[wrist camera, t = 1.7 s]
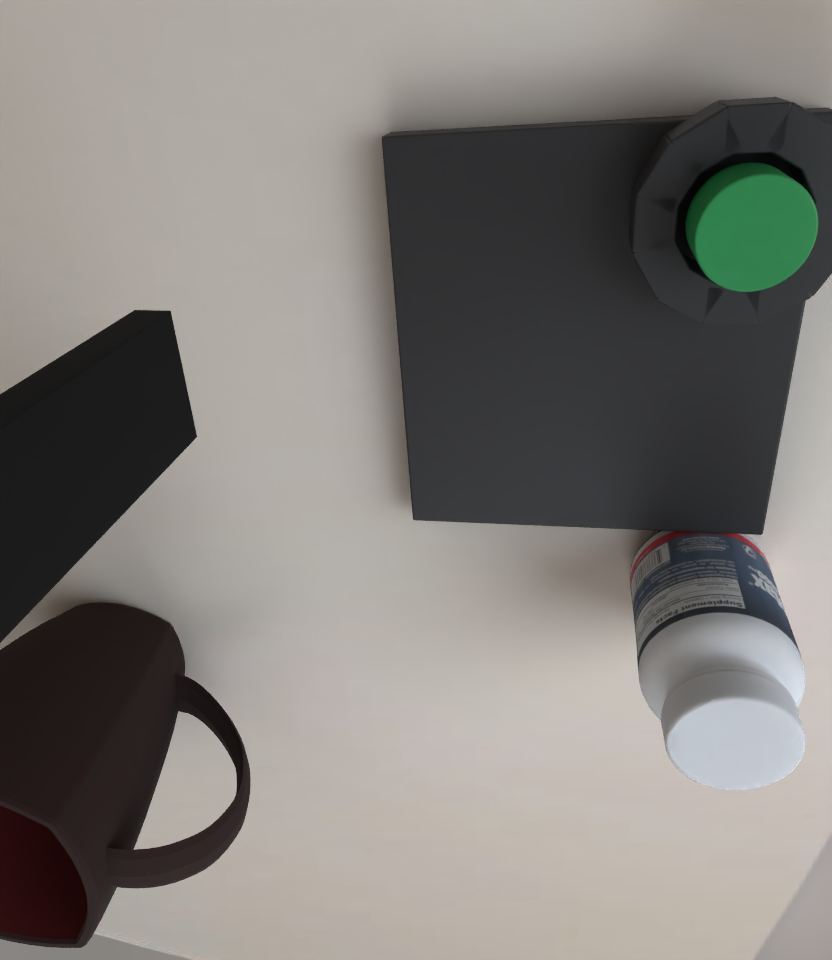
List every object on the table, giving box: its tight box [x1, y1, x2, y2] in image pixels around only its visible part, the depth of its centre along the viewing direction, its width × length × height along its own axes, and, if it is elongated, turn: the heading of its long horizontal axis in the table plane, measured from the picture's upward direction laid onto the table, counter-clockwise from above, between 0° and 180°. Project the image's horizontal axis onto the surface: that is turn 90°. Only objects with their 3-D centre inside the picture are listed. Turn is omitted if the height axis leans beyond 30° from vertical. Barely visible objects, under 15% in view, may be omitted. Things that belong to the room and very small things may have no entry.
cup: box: [0, 603, 250, 948], centre depth 34 cm, size 10×14×12 cm
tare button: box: [685, 162, 818, 292], centre depth 21 cm, size 3×3×2 cm
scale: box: [382, 97, 832, 535], centre depth 25 cm, size 14×13×3 cm
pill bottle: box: [630, 531, 805, 790], centre depth 27 cm, size 5×5×9 cm
